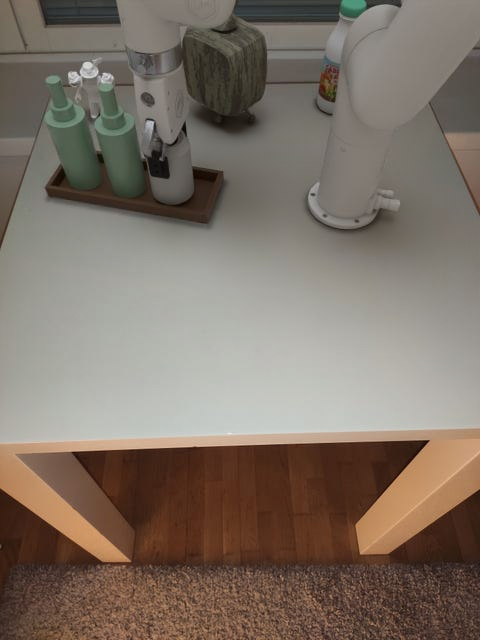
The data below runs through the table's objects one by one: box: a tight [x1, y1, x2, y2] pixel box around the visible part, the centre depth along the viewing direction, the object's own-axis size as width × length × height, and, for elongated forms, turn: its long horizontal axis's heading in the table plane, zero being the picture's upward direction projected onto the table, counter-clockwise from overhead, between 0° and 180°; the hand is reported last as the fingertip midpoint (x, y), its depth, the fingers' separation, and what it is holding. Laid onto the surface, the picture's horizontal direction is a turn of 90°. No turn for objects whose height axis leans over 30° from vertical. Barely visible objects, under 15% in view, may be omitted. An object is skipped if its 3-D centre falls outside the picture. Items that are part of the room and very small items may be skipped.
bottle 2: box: [93, 83, 147, 198], centre depth 79 cm, size 6×6×19 cm
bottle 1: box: [44, 74, 103, 191], centre depth 80 cm, size 6×6×19 cm
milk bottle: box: [316, 0, 367, 115], centre depth 93 cm, size 8×8×20 cm
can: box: [146, 130, 194, 205], centre depth 81 cm, size 8×8×12 cm
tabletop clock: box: [181, 0, 268, 124], centre depth 89 cm, size 14×9×25 cm, turn 49°
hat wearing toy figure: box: [67, 56, 116, 119], centre depth 94 cm, size 9×4×12 cm, turn 87°
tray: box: [44, 150, 225, 225], centre depth 86 cm, size 30×12×3 cm, turn 77°
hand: (169, 157), depth 79 cm, fingers open, 9 cm apart
